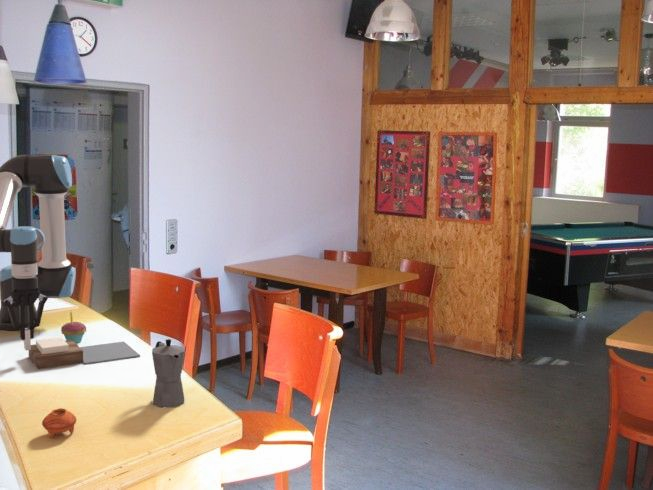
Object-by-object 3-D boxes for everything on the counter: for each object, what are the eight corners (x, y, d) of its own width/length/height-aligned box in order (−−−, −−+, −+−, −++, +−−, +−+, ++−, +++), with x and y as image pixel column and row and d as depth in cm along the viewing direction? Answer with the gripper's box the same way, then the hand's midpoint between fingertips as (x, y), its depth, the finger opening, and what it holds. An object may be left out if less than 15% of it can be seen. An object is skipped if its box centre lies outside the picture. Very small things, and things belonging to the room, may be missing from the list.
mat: (71, 349, 246) (71, 348, 246) (123, 342, 256) (123, 341, 256) (84, 364, 231) (84, 363, 231) (140, 356, 241) (140, 355, 241)
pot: (81, 425, 183) (79, 403, 181) (72, 445, 176) (70, 422, 174) (49, 424, 183) (47, 401, 180) (38, 443, 176) (36, 420, 173)
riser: (28, 357, 237) (28, 345, 236) (72, 351, 244) (72, 339, 244) (37, 369, 225) (36, 356, 225) (83, 362, 233) (83, 350, 232)
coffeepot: (193, 406, 199) (193, 343, 196) (161, 412, 194) (160, 348, 191) (172, 389, 212) (172, 329, 209) (141, 394, 206) (140, 333, 204)
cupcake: (81, 345, 251) (80, 312, 249) (57, 345, 251) (56, 311, 249) (90, 338, 259) (89, 306, 258) (66, 338, 260) (65, 305, 258)
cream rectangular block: (35, 346, 236) (35, 340, 235) (61, 342, 240) (61, 337, 240) (42, 354, 227) (42, 348, 227) (68, 350, 232) (68, 344, 231)
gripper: (4, 280, 219) (7, 355, 223) (49, 276, 226) (51, 349, 230) (0, 275, 226) (3, 348, 229) (44, 272, 233) (46, 343, 236)
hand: (27, 348), depth 230 cm, fingers closed
